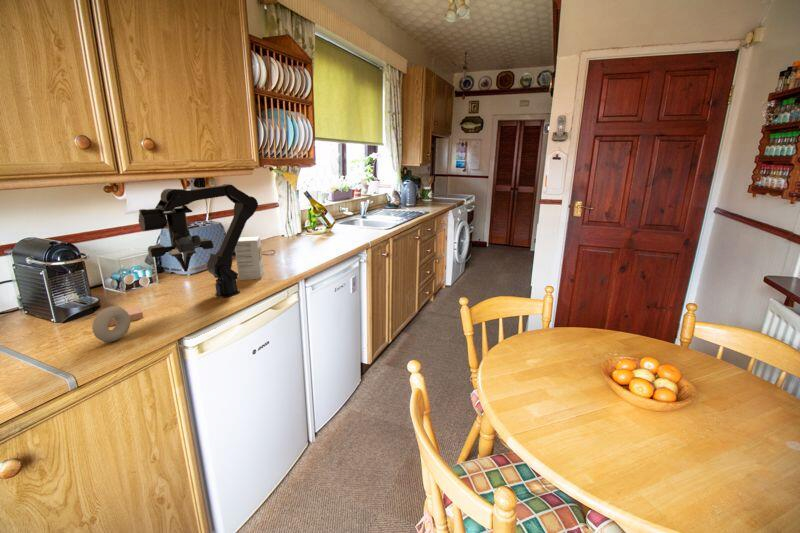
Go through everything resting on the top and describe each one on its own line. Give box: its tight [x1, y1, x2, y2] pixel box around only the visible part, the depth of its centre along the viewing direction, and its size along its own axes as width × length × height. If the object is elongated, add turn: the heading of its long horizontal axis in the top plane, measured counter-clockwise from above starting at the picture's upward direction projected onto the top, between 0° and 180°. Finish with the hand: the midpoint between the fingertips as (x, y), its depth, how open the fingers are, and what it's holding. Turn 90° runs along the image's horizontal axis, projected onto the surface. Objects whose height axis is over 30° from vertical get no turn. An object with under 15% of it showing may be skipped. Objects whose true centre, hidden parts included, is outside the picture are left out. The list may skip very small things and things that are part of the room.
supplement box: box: [234, 236, 265, 281], centre depth 161 cm, size 10×9×17 cm
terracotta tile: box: [108, 305, 144, 327], centre depth 121 cm, size 2×8×9 cm
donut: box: [92, 306, 131, 343], centre depth 105 cm, size 10×3×10 cm, turn 166°
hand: (185, 271), depth 130 cm, fingers closed
